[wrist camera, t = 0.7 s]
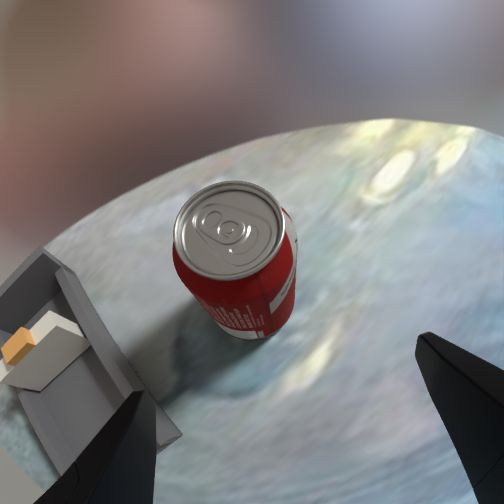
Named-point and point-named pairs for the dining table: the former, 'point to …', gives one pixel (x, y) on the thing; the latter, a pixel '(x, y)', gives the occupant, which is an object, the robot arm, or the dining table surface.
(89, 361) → the tray
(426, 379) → the robot arm
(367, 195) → the dining table surface
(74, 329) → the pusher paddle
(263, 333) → the soda can
